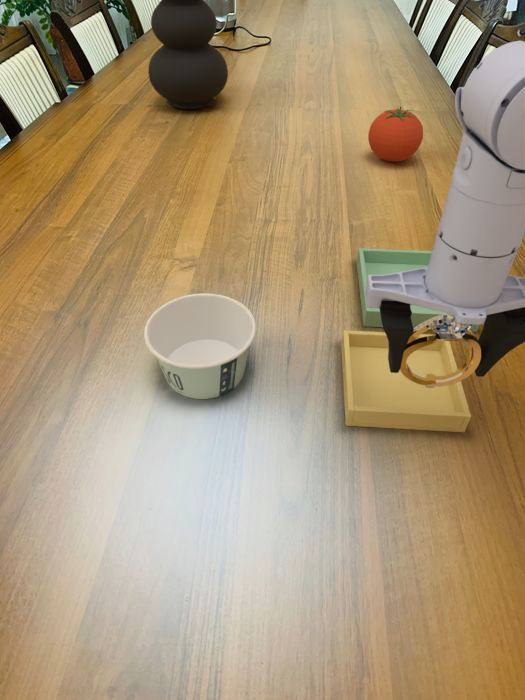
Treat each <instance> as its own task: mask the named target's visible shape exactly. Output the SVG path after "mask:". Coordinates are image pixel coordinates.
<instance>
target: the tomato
mask: <svg viewBox="0 0 525 700" xmlns="http://www.w3.org/2000/svg"><path fill="white" fill-rule="evenodd" d="M412 112H413V110H412V109H406V110H403V109H402V106H399V108H396V109H388V110H384V111H383V112H382V113H380V114H379V115H378V116H376V117H375V119H374V120H373V121H372V122H371V125H370V126H369V130H368V137H367V138H368V144H369V147H370V149H371V151H372V152H373V153H374V154H375V156H377V157H378V158H380V159H381V160H383V161H387V162H392V163H393V162H402V161H404V160H407V159H408V158H410V157H412V156H413V155H414V154H415V153H416V152H417V151H418V150H419V148H420V146H421V144H422V142H423V139H424V128H423V125H422V122H421V120H420V119H419V118H418V117H417V116H416V114H414V113H412Z"/></svg>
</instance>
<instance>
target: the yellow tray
mask: <svg viewBox="0 0 525 700" xmlns="http://www.w3.org/2000/svg"><path fill="white" fill-rule="evenodd" d="M432 335H433V334H428V333H422V334H421V335H420V336H419V337H418V338H416V339H419V338H422V337H426V336H432ZM416 339H415V340H416ZM340 351H341V369H342V387H343V402H344V418H345V419H344V420H345V421H344V422H345V426H346V427H349V426H350V427H364V428H380V429H398V430H399V429H400V430H413V431H414V430H415V431H416V430H417V431H431V432H432V431H436V432H448V433H449V432H450V433H451V432H452V433H465V432H466V429H467V427H468V426H469V423H470V420H471V418H472V414H471V411H470V408H469V403H468V399H467V397H466V394H465V391H464V387H463V384H462V381H460V382H458V383H455V384H452V385H448V386H440V387H434V388H427V387H425V385H421V384H417V383H415V382H413V381H411V380H409V379H408V378H406V377H405V376H404V375H403V374H402V372H401V371H400V370H399V372H398V373H391V372H390V367H389V361H388V352H389V342H388V338H387V336H386V333H385V331H368V330H367V331H366V330H347V329H346V330H345V329H344V330H343V331H342V338H341V343H340ZM406 363H407V365H408V366H409V367H410V368H411V369H412V370H413V371H415V372H417V373H419V374H422V375H427V374H434V375H435V376H444V375H448V374H451V373H454V372H455V371H457V370H459V368H458V366H457V365H458V364H457V362H456V358H455V355H454V352H453V348H452V344H451V341H439V342H437V343H433V344H430V345H427V346H425V347H422V348H420V349H418V350H416V351H414V352H413V353H412V354H411V355H410V356H409V357H408V358H407V361H406Z"/></svg>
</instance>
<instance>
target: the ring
mask: <svg viewBox="0 0 525 700" xmlns="http://www.w3.org/2000/svg"><path fill="white" fill-rule="evenodd" d="M440 324H441V325H440ZM471 326H472V324H467V326H464V325H462V324H461V323H459V322H457V320H456V318H455V316H454V317H453V316H450V315H448V314H447V313H444V315H439V316H436V317H433V318H431V319H429V320H427V321H425V322H423V323H421V324H419V325H418V326H416V327H415V328H414V332H413V333H412V335H411V336H410V338H409V340H408V342H407V345H406V347H405V350H404V353H403V358H402V363H401V368H400V371H401V372H402V374H403V375H404V376H405V377H406V378H408V379H409V380H411V381H413V382H415V383H417V384H421V385H425V387H427V388H434V387H440V386H448V385H452V384H455V383H458V382H460V381H461V382H462V381H463V380H465V379H467V378H468V377H469V376H471V375H472V374H473V373H475V370H476V368H477V367H478V365H479V363H480V360H481V348H480V344H479V342H478V338H477V336H476V335H475V332H472V331H471V330H470V327H471ZM431 328H432V330H431V331H433V332H434V334H431V335H432V336H426V337H422V338H419V339H416V338H418V337H419V336H420V335H421V334H425V332H427V331H429V329H431ZM415 339H416V340H415ZM439 341H450V342H466V343H467V344H468V346H469V355H468V358H467V360H466V361H465V363H464V364H463V365H462V366H461V367H460V368H458V370H457V371H455V372H454V373H451V374H448V375H444V376H435V375H434V374H427V375H422V374H419V373H417V372H415V371H413V370H412V369H411V368H410V367H409V366H408V365H407V363H406V361H407V358H408V357H409V356H410V355H411V354H412V353H413V352H414V351H416V350H418V349H420V348H422V347H425V346H427V345H430V344H433V343H437V342H439Z"/></svg>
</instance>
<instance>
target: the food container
mask: <svg viewBox="0 0 525 700" xmlns="http://www.w3.org/2000/svg"><path fill="white" fill-rule="evenodd" d="M256 334H257V321H256V318H255V317H254V315H253V313H252V311H251V310H250V309H249V308H248V307H247V306H246V305H244V304H243V303H242V302H240V301H238V300H237V299H235V298H233V297H229V296H227V295H223V294H218V293H208V292H207V293H206V292H204V293H203V292H202V293H193V294H192V293H191V294H187V295H182V296H179V297H176V298H174V299H172V300H169V301H167V302H165V303H163V304H162V305H161V306H159V307H158V308H157V309H155V311H153V313H151V315H150V316H149V317H148V319H147V321H146V323H145V326H144V330H143V337H144V342H145V345H146V347H147V349H148V350H149V352H150V353H151V354H152V355H153V356H154V357H155V358H156V361H157V363H158V366H159V367H160V369H161V372H162V374H163V376H164V378H165V380H166V382H167V384H168V385H169V387H170V388H171V389H172V390H173V391H174V392H176V393H177V394H179V395H180V396H183V397H186V398H189V399H195V400H209V399H210V400H211V399H215V398H218V397H221V396H223V395H225V394H227V393H230V392H231V391H233V390H234V389H235V388H236V387H237V386H238V385H239V384H240V383H241V381H242V380H243V377H244V374H245V370H246V366H247V361H248V356H249V352H250V346H251V345H252V344H253V342H254V340H255V338H256Z"/></svg>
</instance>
